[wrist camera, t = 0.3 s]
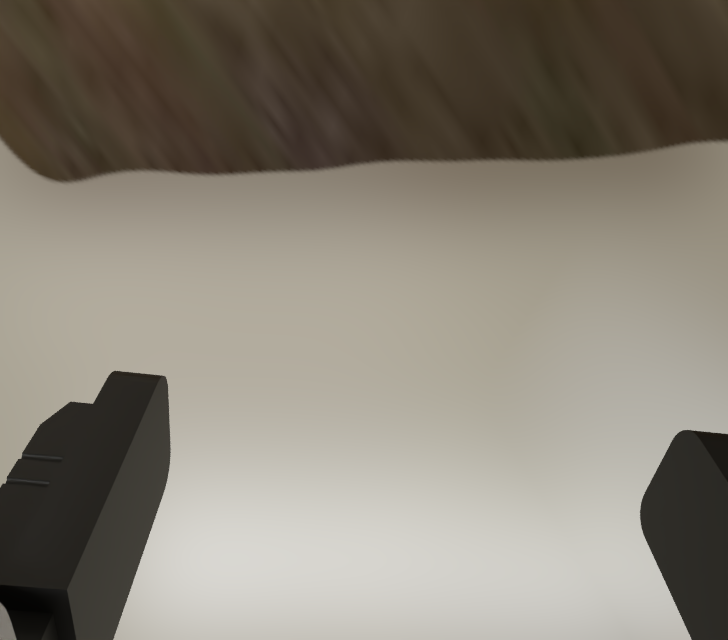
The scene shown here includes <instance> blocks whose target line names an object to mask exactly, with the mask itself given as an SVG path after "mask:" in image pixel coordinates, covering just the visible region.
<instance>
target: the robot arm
mask: <svg viewBox="0 0 728 640" xmlns="http://www.w3.org/2000/svg"><path fill="white" fill-rule="evenodd" d="M169 465H170V428H169V402H168V384H167V379H166V377H165V376H160V375H150V374H140V373H131V372H121V371H114V372H112V373H111V374H110V375H109V377H108V378H107V380H106V382H105V383H104V385H103V387H102V389H101V391H100V393H99V394H98V396H97V398H96V400H95V402H94V403H93V404H88V403H78V402H70V403H68V404H67V405H66V406H64V407H63V408H62V409H60V410H59V411H58V412H57V413H55V414H54V415H52V416H51V417H50V418H48V419H47V420H46V421H44V422H43V423H42V424H41V425H40V426H39V428H38V429H37V431H36V432H35V434H34V436H33V437H32V439H31V440H30V442H29V443H28V445H27V446H26V448H25V450H24V451H23V453H22V458H21V459H18V461H17V462H16V464H15V466H14V467H13V469H12V470H11V472H10V473H9V475H8V476H7V481H6V484H2V486H1V488H0V640H113V638H114V635H115V633H116V630H117V627H118V624H119V621H120V618H121V615H122V612H123V609H124V606H125V603H126V601H127V598H128V595H129V592H130V589H131V586H132V583H133V580H134V577H135V574H136V571H137V569H138V565H139V563H140V559H141V557H142V554H143V551H144V548H145V545H146V542H147V540H148V537H149V534H150V531H151V528H152V525H153V522H154V519H155V516H156V513H157V511H158V508H159V505H160V502H161V499H162V496H163V493H164V490H165V486H166V482H167V477H168V472H169ZM640 519H641V525H642V530H643V534H644V536H645V539H646V541H647V543H648V545H649V547H650V549H651V552H652V554H653V556H654V558H655V560H656V562H657V565H658V567H659V569H660V571H661V573H662V576H663V578H664V580H665V582H666V584H667V586H668V589H669V591H670V593H671V595H672V597H673V600H674V602H675V604H676V606H677V608H678V610H679V613H680V615H681V617H682V619H683V621H684V623H685V626H686V628H687V630H688V632H689V634H690V637H691V639H692V640H728V434H721V433H711V432H701V431H691V430H683V431H681V432H679V433H678V434H677V435H676V436H675V437H674V439H673V440H672V442H671V444H670V446H669V448H668V450H667V452H666V454H665V456H664V458H663V459H662V462H661V463H660V465H659V467H658V469H657V471H656V473H655V475H654V477H653V478H652V480H651V483H650V484H649V486H648V488H647V490H646V492H645V494H644V496H643V499H642V503H641V510H640Z"/></svg>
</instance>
